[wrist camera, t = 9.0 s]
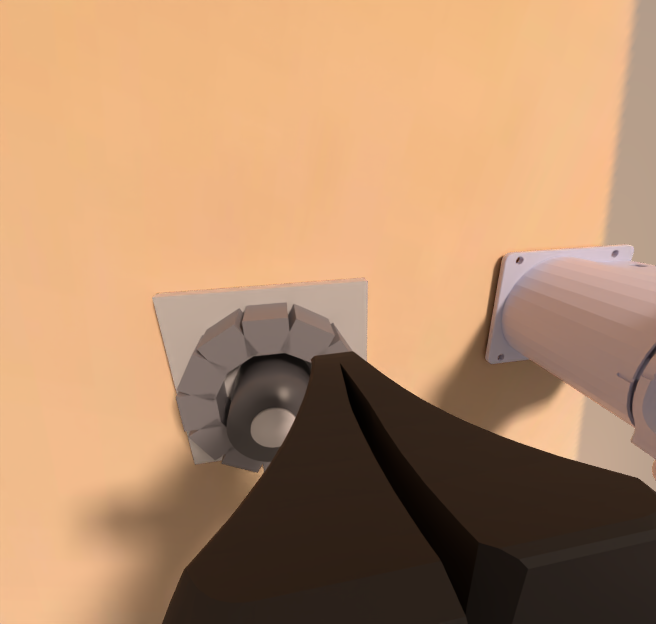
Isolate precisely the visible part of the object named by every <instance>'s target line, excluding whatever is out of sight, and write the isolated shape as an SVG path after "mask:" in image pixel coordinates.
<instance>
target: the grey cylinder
mask: <svg viewBox="0 0 656 624" xmlns="http://www.w3.org/2000/svg"><path fill="white" fill-rule="evenodd" d="M310 374H311V372H310V369H309V367H308V365H307V364H306V362H305V361H304V360H303V359H300V358H297V357H295V356H292V355H290V354H287V353H279V354H270V355H260V356H253V357H251V358H250V359H248V360H247V361H245V362H244V363H243V364H242V365H241V367H240V368H239V370H238V372H237V375H236V380H235V385H234V390H233V395H232V399H231V404H230V409H229V414H228V419H227V426H226V429H227V435H228V438H229V441H230V442H231V444H232V446H233V447H234V448H235V449H236V450H237V451H238V452H240V453H241V454H242V455H244V456H246V457H248V458H251V459H253V460H257V461H263V462H271V461H272V460H273V458H274V456H275V455H276V453H277V451H278V450H279V448H280V447H281V445H282V443H283V441H284V440H285V438H286V436H287V434H288V432H289V430H290V428H291V426H292V424H293V422H294V420H295V418H296V416H297V413H298V411H299V408H300V406H301V403H302V401H303V398H304V395H305V392H306V389H307V386H308V382H309V379H310Z"/></svg>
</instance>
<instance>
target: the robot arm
mask: <svg viewBox="0 0 656 624" xmlns="http://www.w3.org/2000/svg"><path fill="white" fill-rule="evenodd" d="M633 253H634V247H633V246H631V245H625V244H624V245H610V246H595V247H580V248H566V249H551V250H537V251H523V252H510V253H507V254H505V255H504V257H503V258H502V262H501V268H500V274H499V279H498V285H497V291H496V297H495V303H494V309H493V314H492V320H491V326H490V332H489V338H488V343H487V349H486V355H485V359H486V361H487V362H489V363H490V364H496V363H505V362H513V361H521V360H532V361H533V362H535V363H536V364H538V365H539V366H541V367H542V368H544V369H545V370H547V371H548V372H550V373H551V374H553V375H554V376H556V377H558V378H559V379H561V380H562V381H564V382H565V383H567V384H568V385H570V386H571V387H573V388H574V389H576V390H577V391H579V392H581V393H582V394H584V395H585V396H587V397H588V398H590V399H591V400H593V401H594V402H596V403H597V404H599V405H600V406H602V407H603V408H605V409H607V410H608V411H610V412H611V413H613V414H614V415H616V416H617V417H619V418H620V419H622V420H624V421H625V422H626V423H628V424H630V425H631V426H633V427H634V428H635V430H634V434H633V436H632V438H631V442H632V443H633V444H634V445H636V446H637V447H639V448H640V449H642V450H643V451H644V452H646V453H648V454H649V455H650V456H652V457H653V458H654V459H655V461H654V462H653V466H652V472H653V476H654V478H655V480H656V265H650V264H645V263H639V262H635V261H631V259H632V256H633ZM518 257H519V261H518V262H517V263H516V260H517V258H518ZM499 355H500V356H499ZM498 356H499V357H498ZM311 366H312V367H311V374H310V379H309V382H308V386H307V389H306V392H305V395H304V398H303V401H302V403H301V406H300V408H299V411H298V413H297V416H296V418H295V420H294V422H293V424H292V426H291V428H290V430H289V432H288V434H287V436H286V438H285V440H284V441H283V443H282V445H281V447H280V448H279V450H278V451H277V453H276V455H275V456H274V458H273V460H272V461H271V463H270V464H269V466H268V467H267V469H266V470H265V472H264V473H263V475H262V476H261V478H260V479H259V480H258V482H257V483H256V484H255V486H254V487H253V488H252V490H251V491H250V492H249V494H248V495H247V496H246V498H245V499H244V500H243V502H242V503H241V504H240V506H239V507H238V508H237V510H236V511H235V512H234V513H233V515H232V516H231V517H230V518H229V519H228V521H227V522H226V523H225V524H224V525H223V526H222V527H221V529H220V530H219V531H218V532H217V533H216V534H215V535H214V537H213V538H212V539H211V540H210V541H209V542H208V543H207V545H206V546H205V547H204V548H203V549H202V550H201V551H200V552H199V554H198V555H197V556H196V557H195V558H194V559H193V560H192V562H191V563H190V564H189V565H188V566H187V567H186V568H185V569H184V571H183V573H182V576H181V578H180V580H179V582H178V585H177V587H176V590H175V592H174V595H173V597H172V599H171V602H170V604H169V607H168V609H167V612H166V615H165V617H164V620H163V623H162V624H656V492H655V491H654V490H652V489H651V488H650V487H649V486H648V485H646V484H645V483H644V482H642V481H641V480H640V479H638V478H635V477H632V476H628V475H624V474H621V473H617V472H614V471H610V470H607V469H602V468H599V467H596V466H592V465H588V464H585V463H581V462H578V461H574V460H570V459H567V458H563V457H560V456H557V455H554V454H551V453H548V452H545V451H542V450H539V449H536V448H533V447H530V446H527V445H524V444H521V443H518V442H515V441H513V440H510V439H507V438H505V437H502V436H499V435H497V434H494V433H492V432H489V431H487V430H485V429H482V428H480V427H477V426H475V425H473V424H470V423H468V422H466V421H464V420H461V419H459V418H457V417H455V416H453V415H451V414H449V413H447V412H445V411H443V410H441V409H439V408H437V407H435V406H433V405H431V404H430V403H428V402H426V401H424V400H422V399H421V398H419V397H417V396H416V395H414V394H412V393H411V392H409V391H408V390H406V389H404V388H403V387H401V386H400V385H398V384H397V383H395V382H394V381H392V380H391V379H389V378H388V377H387V376H385V375H384V374H382V373H381V372H380V371H378V370H377V369H376V368H374V367H373V366H372V365H370V364H369V363H368V362H366V361H365V360H364V359H363V358H361V357H360V356H359V355H358V354H356V353H355V352H353V351H350V352H341V353H333V354H325V355H317V356H314V357H313V358H312V359H311Z"/></svg>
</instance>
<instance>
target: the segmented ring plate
mask: <svg viewBox="0 0 656 624" xmlns="http://www.w3.org/2000/svg"><path fill="white" fill-rule="evenodd" d="M152 299H153V303H154V307H155V310H156V314H157V318H158V322H159V326H160V330H161V334H162V338H163V342H164V346H165V350H166V353H167V357H168V361H169V365H170V369H171V373H172V377H173V381H174V385H175V389H176V393H177V396H176V400H177V404H178V408H179V412H180V416H181V420H182V424H183V427H184V431H186V432H187V436H188V440H189V443H190V447H191V451H192V455H193V459H194V463H195V464H201V463H208V462H215V461H222V462H221V464H225V465H229V466H233V467H237V468H241V469H245V470H249V471H253V472H257V473H258V471H259V469H260V467H261V466H262V464H263V467H264V472H265V470H266V469H267V467H268V466H269V464H270V463H271V462H263V461H257V460H253V459H251V458H248V457H246V456H244V455H242V454H241V453H240V452H238V451H237V450H236V449H235V448H234V447H233V446H232V444H231V442H230V441H229V438H228V435H227V429H226V426H227V419H228V414H229V409H230V404H231V399H232V395H233V390H234V385H235V380H236V375H237V372H238V370H239V368H240V367H241V365H242V364H243V363H244V362H245V361H247V360H248V359H250V358H251V357H253V356H260V355H270V354H279V353H287V354H290V355H292V356H295V357H297V358H300V359H303V360H304V361H305V362H306V364H307V365H308V367H309V369H310V372H311V367H312V366H311V359H312V358H313V357H314V356H317V355H325V354H333V353H341V352H350V351H353V352H355V353H356V354H358V355H359V356H360V357H361V358H363V359H364V360H365V361H366V362H367V304H368V281H367V280H366V279H365V278H352V279H339V280H326V281H313V282H299V283H286V284H273V285H260V286H247V287H234V288H220V289H207V290H194V291H181V292H168V293H157V294H156V295H155V296H154V297H152Z"/></svg>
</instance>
